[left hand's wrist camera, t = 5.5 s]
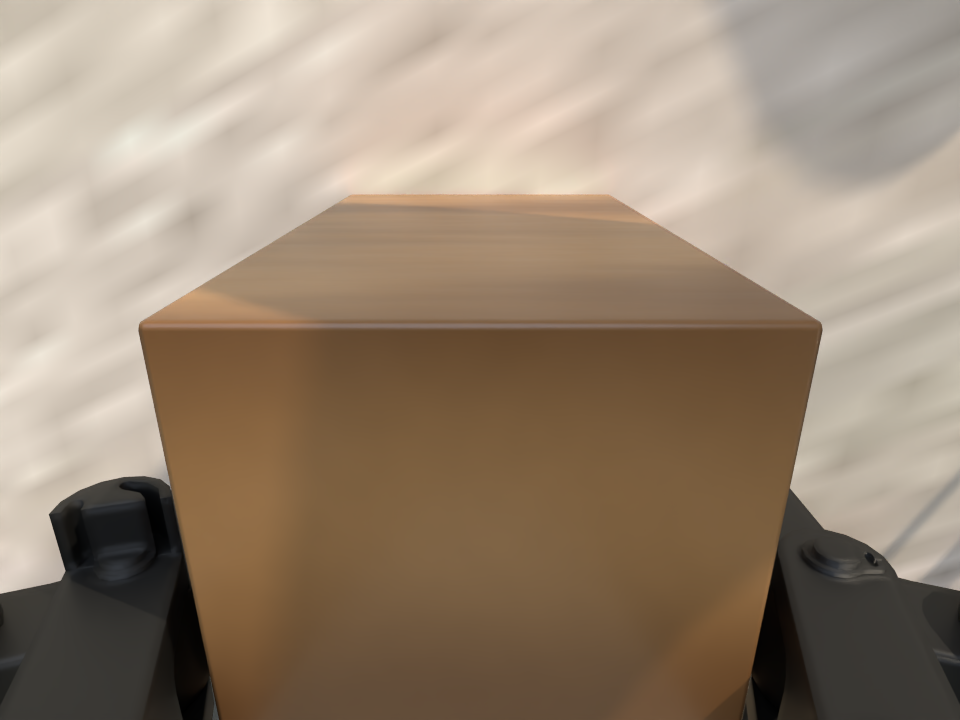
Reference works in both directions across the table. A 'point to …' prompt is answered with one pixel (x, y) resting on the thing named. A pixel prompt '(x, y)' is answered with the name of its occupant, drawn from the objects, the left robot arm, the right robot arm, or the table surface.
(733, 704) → the beam
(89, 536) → the left robot arm
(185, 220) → the table surface
